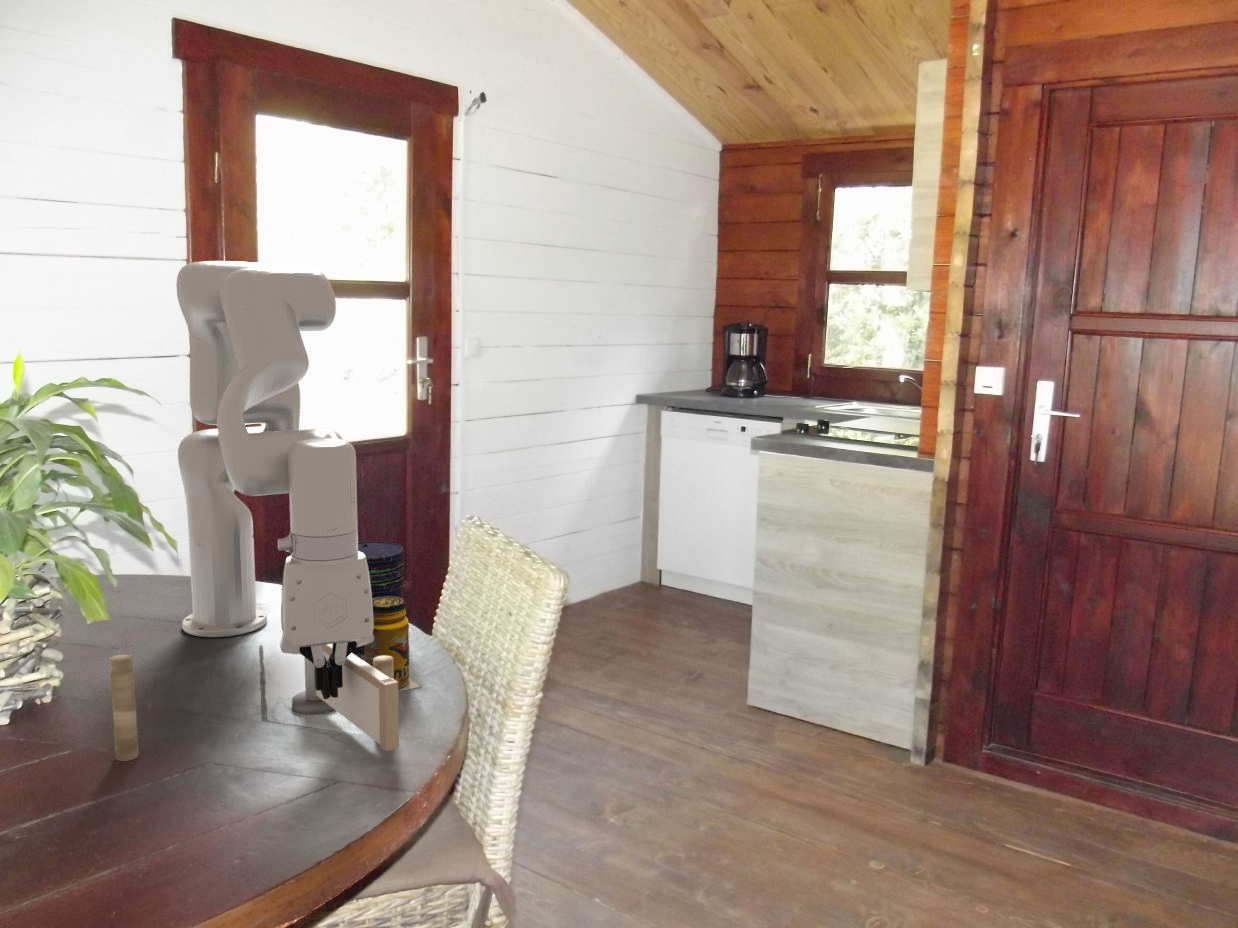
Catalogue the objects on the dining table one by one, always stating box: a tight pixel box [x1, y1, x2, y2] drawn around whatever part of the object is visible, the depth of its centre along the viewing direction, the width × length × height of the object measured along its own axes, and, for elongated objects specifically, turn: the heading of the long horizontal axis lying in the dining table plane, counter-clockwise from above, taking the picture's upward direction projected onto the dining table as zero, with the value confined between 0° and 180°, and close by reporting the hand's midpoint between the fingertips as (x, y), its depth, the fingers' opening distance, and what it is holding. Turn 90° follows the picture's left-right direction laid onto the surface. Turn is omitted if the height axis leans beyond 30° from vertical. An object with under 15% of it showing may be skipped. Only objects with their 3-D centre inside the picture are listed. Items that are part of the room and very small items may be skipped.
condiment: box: [363, 596, 420, 692], centre depth 141 cm, size 7×8×12 cm
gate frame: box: [109, 653, 394, 762], centre depth 122 cm, size 18×28×12 cm, turn 132°
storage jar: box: [352, 541, 405, 656], centre depth 156 cm, size 10×10×15 cm
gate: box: [303, 644, 400, 752], centre depth 126 cm, size 23×3×11 cm, turn 40°
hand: (329, 693), depth 123 cm, fingers closed
